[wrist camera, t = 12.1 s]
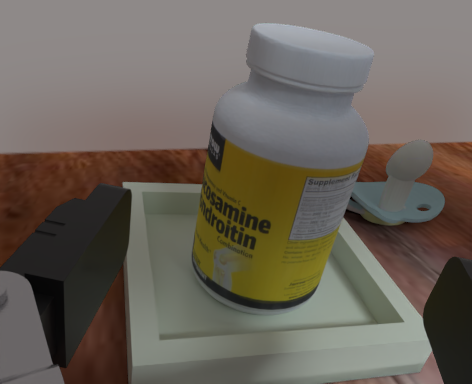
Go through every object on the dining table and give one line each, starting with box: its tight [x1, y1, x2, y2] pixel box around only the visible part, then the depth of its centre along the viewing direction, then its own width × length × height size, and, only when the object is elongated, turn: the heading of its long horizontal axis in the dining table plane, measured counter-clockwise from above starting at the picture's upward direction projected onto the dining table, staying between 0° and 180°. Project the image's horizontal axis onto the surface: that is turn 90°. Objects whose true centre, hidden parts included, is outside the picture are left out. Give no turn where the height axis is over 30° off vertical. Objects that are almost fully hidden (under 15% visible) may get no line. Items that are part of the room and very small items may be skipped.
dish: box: [122, 182, 432, 384], centre depth 22 cm, size 12×12×2 cm
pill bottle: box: [192, 23, 374, 315], centre depth 19 cm, size 6×6×12 cm
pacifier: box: [346, 140, 445, 225], centre depth 30 cm, size 7×6×6 cm
